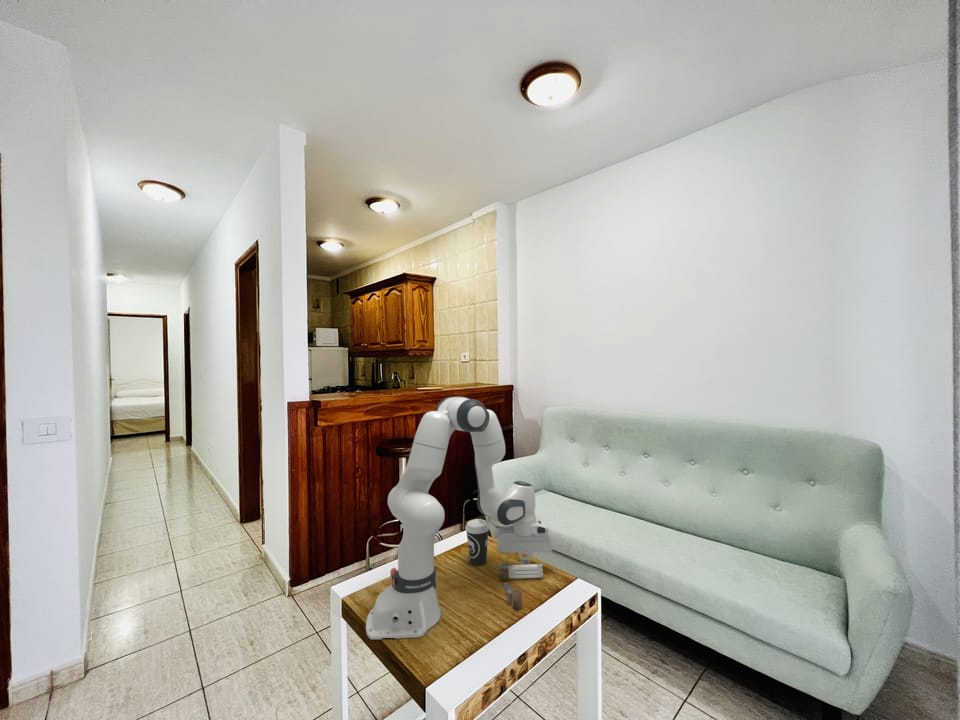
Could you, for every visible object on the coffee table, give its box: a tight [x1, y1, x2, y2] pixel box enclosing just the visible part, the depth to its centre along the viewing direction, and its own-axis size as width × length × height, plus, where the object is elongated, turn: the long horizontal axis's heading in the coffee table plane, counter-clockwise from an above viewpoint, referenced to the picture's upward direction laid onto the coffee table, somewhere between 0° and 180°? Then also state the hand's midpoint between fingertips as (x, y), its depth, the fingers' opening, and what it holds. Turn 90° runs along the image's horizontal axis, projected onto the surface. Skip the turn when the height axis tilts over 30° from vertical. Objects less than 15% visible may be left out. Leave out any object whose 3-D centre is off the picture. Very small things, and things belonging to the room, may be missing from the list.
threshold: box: [502, 583, 514, 601], centre depth 128 cm, size 2×9×1 cm, turn 12°
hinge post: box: [498, 562, 509, 583], centre depth 136 cm, size 3×3×5 cm
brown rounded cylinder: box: [506, 589, 523, 611], centre depth 121 cm, size 4×5×5 cm, turn 13°
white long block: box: [508, 563, 544, 579], centre depth 136 cm, size 12×2×4 cm, turn 90°
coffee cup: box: [464, 518, 490, 567], centre depth 149 cm, size 10×10×15 cm
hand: (525, 563), depth 140 cm, fingers closed
